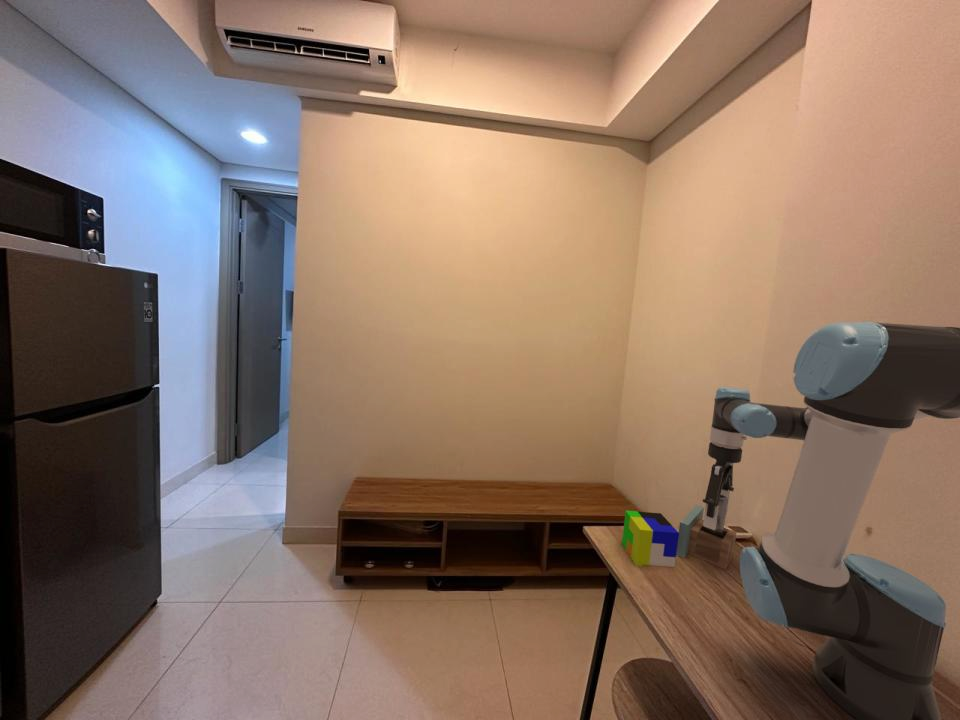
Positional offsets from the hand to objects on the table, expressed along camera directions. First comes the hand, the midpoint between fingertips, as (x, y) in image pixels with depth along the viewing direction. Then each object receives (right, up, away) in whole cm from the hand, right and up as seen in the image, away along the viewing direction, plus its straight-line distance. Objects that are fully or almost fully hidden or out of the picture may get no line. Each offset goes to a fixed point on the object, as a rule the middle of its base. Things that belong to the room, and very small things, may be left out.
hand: (715, 519), depth 101 cm
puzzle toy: (-19, -10, -1) cm, 22 cm away
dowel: (-1, -9, +1) cm, 9 cm away
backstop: (+2, -11, -2) cm, 12 cm away
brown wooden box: (-1, -10, +1) cm, 10 cm away
